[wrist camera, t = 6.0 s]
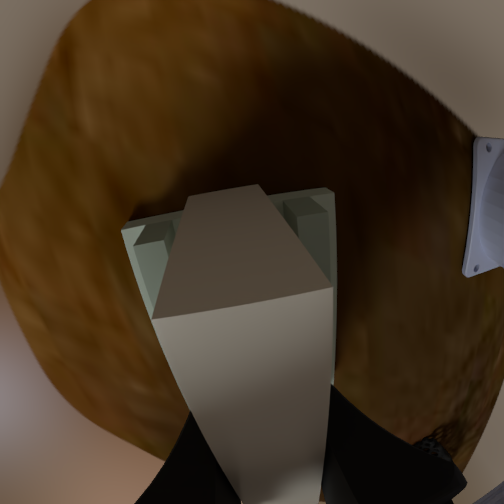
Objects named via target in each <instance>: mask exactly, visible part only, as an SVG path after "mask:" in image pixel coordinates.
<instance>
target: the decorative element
mask: <svg viewBox="0 0 504 504" xmlns="http://www.w3.org/2000/svg"><path fill="white" fill-rule="evenodd" d="M419 446H421V447H420V448H419V449H421V450H424V449H425V448H429V449H428V450H427V451H425V452H427V453H429V454H431V452H432V451H433V452H437V453H438V454H432V455H434V456H437V457H439V458H440V457H442V458H443V459H445V460H448V461H451V462H453V460H452V458H451V456H450V455H449V453H448V452H447V451H446V450H445V449H444V447H443V446H442V445H441V444H440V443H438V442H437V441H436V440H435V439H434V438H431V439H429V438H426V437H425V438H423V440H422V442H417V443H416V444H415V446H414V447H416V448H418V447H419Z"/></svg>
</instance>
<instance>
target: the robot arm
mask: <svg viewBox="0 0 504 504" xmlns="http://www.w3.org/2000/svg"><path fill="white" fill-rule="evenodd" d="M486 145H487V148H486ZM499 266H502V267H503V268H504V139H500V138H489V137H477V138H476V139H475V141H474V145H473V185H472V200H471V211H470V221H469V229H468V237H467V244H466V250H465V257H464V262H463V268H462V273H463V274H464V275H465V276H466V277H471V276H474V275H477V274H480V273H482V272H485V271H488V270H491V269H493V268H496V267H499ZM466 485H467V481H466V479H465V477H464V476H463V474H462V473H461V471H460V470H459V469H458V467H457V466H456V465H455V464H454V463H453V462H451V461H448V460H445V459H442V458H439V457H437V456H434V455H432V454H429V453H427V452H425V451H423V450H421V449H419V448H416V447H414V446H412V445H411V444H409V443H407V442H405V441H403V440H402V439H400V438H398V437H396V436H395V435H393V434H391V433H390V432H388V431H387V430H385V429H384V428H382V427H381V426H379V425H378V424H376V423H375V422H374V421H372V420H371V419H370V418H368V417H367V416H366V415H364V414H363V413H362V412H361V411H360V410H358V409H357V408H356V407H355V406H354V405H353V404H352V403H350V402H349V401H348V400H347V399H346V398H345V397H344V396H343V395H342V394H341V393H340V392H339V391H338V390H337V389H336V388H335V387H334V386H333V385H332V384H331V387H330V403H329V416H328V427H327V438H326V448H325V457H324V465H323V473H322V481H321V486H322V489H323V493H324V497H325V501H326V504H454V503H453V501H452V498H453V497H455V496H456V495H457V494H459V493H460V492H461V491H462V490H463V489H464V488H465V487H466ZM134 504H241V500H240V498H239V496H238V495H237V493H236V492H235V490H234V488H233V487H232V485H231V484H230V482H229V480H228V479H227V477H226V475H225V473H224V472H223V470H222V468H221V467H220V465H219V463H218V461H217V460H216V458H215V456H214V454H213V452H212V451H211V449H210V447H209V445H208V443H207V441H206V440H205V438H204V436H203V434H202V432H201V430H200V428H199V426H198V424H197V422H196V420H195V418H194V416H193V414H192V412H191V410H190V413H189V415H188V418H187V420H186V423H185V425H184V427H183V429H182V431H181V433H180V436H179V438H178V440H177V442H176V444H175V446H174V448H173V449H172V451H171V453H170V455H169V456H168V458H167V460H166V462H165V463H164V465H163V467H162V468H161V469H160V471H159V472H158V474H157V475H156V477H155V478H154V480H153V481H152V483H151V484H150V485H149V486H148V488H147V489H146V490H145V491H144V493H143V494H142V495H141V496H140V498H139V499H138V500H137V501H136V503H134ZM473 504H504V481H503V482H502V483H501V484H499V485H498V486H497V487H495V488H494V489H493V490H491V491H490V492H489V493H487V494H486V495H485V496H483V497H482V498H480V499H479V500H477V501H476V502H474V503H473Z"/></svg>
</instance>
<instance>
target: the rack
mask: <svg viewBox="0 0 504 504" xmlns="http://www.w3.org/2000/svg"><path fill="white" fill-rule="evenodd" d="M267 197H268V198H269V199H270V201H271V202H272V203H273V204H274V206H275V207H276V208H277V210H278V211H279V213H280V214H281V215H282V217H283V218H284V219H285V221H286V222H287V223H288V225H289V226H290V227H291V229H292V230H293V231H294V233H295V234H296V236H297V237H298V238H299V240H300V241H301V242H302V244H303V245H304V247H305V248H306V249H307V251H308V252H309V254H310V255H311V256H312V258H313V259H314V261H315V262H316V263H317V265H318V266H319V268H320V269H321V270H322V272H323V273H324V275H325V276H326V278H327V279H328V280H329V282H330V283H331V285H332V286H333V343H332V369H331V384H332V385H333V382H334V367H335V348H336V319H337V243H336V215H335V195H334V192H332V191H331V190H329V189H327V188H326V187H323V188H316V189H309V190H301V191H294V192H288V193H281V194H274V195H268V196H267ZM183 211H184V210H182V211H177V212H172V213H167V214H162V215H157V216H152V217H147V218H143V219H138V220H133V221H129V222H127V223H126V224H125V226H124V227H123V228H122V230H121V232H122V235H123V239H124V242H125V246H126V249H127V252H128V255H129V259H130V262H131V265H132V268H133V271H134V274H135V277H136V280H137V283H138V286H139V289H140V292H141V295H142V297H143V300H144V303H145V306H146V308H147V311H148V314H149V316H150V319H152V315H153V311H154V308H155V304H156V300H157V297H158V293H159V289H160V286H161V282H162V279H163V275H164V272H165V268H166V265H167V262H168V258H169V255H170V252H171V248H172V245H173V242H174V239H175V235H176V232H177V229H178V226H179V223H180V220H181V217H182V214H183ZM151 322H152V320H151ZM152 324H153V323H152ZM153 327H154V325H153ZM154 329H155V328H154ZM155 332H156V330H155ZM156 335H157V333H156ZM157 337H158V335H157ZM158 339H159V338H158ZM159 342H160V340H159ZM160 344H161V343H160ZM161 347H162V345H161ZM162 349H163V348H162ZM163 352H164V350H163ZM164 354H165V353H164ZM165 356H166V355H165ZM166 359H167V357H166ZM167 361H168V360H167ZM168 363H169V362H168ZM169 366H170V364H169ZM170 368H171V367H170ZM171 370H172V369H171ZM172 373H173V371H172ZM173 375H174V374H173ZM174 377H175V376H174ZM175 379H176V378H175ZM176 381H177V380H176ZM177 384H178V383H177ZM178 386H179V385H178ZM179 388H180V387H179ZM180 390H181V389H180ZM181 392H182V391H181ZM182 394H183V393H182ZM183 397H184V396H183ZM184 399H185V398H184ZM185 401H186V400H185ZM186 403H187V402H186ZM187 405H188V404H187ZM188 407H189V406H188ZM189 409H190V408H189Z"/></svg>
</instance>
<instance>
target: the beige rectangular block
mask: <svg viewBox="0 0 504 504" xmlns="http://www.w3.org/2000/svg"><path fill="white" fill-rule="evenodd" d="M151 320H152V323H153V325H154V328H155V330H156V333H157V335H158V338H159V340H160V343H161V345H162V348H163V350H164V353H165V355H166V357H167V360H168V362H169V364H170V367H171V369H172V371H173V374H174V376H175V378H176V380H177V383H178V385H179V387H180V389H181V391H182V393H183V396H184V398H185V400H186V402H187V404H188V406H189V408H190V410H191V412H192V414H193V416H194V418H195V420H196V422H197V424H198V426H199V428H200V430H201V432H202V434H203V436H204V438H205V440H206V441H207V443H208V445H209V447H210V449H211V451H212V452H213V454H214V456H215V458H216V460H217V461H218V463H219V465H220V467H221V468H222V470H223V472H224V473H225V475H226V477H227V479H228V480H229V482H230V484H231V485H232V487H233V488H234V490H235V492H236V493H237V495H238V496H239V498H240V500H241V501H242V503H243V504H318V502H319V495H320V488H321V481H322V473H323V465H324V457H325V448H326V438H327V427H328V416H329V403H330V387H331V369H332V343H333V286H332V285H331V283H330V282H329V280H328V279H327V278H326V276H325V275H324V273H323V272H322V270H321V269H320V268H319V266H318V265H317V263H316V262H315V261H314V259H313V258H312V256H311V255H310V254H309V252H308V251H307V249H306V248H305V247H304V245H303V244H302V242H301V241H300V240H299V238H298V237H297V236H296V234H295V233H294V231H293V230H292V229H291V227H290V226H289V225H288V223H287V222H286V221H285V219H284V218H283V217H282V215H281V214H280V213H279V211H278V210H277V208H276V207H275V206H274V204H273V203H272V202H271V201H270V199H269V198H268V197H267V195H266V194H265V193H264V191H263V190H262V189H261V187H260V186H259V185H258V184H256V185H249V186H243V187H237V188H231V189H226V190H220V191H214V192H209V193H203V194H198V195H193V196H188V199H187V202H186V205H185V208H184V211H183V214H182V217H181V220H180V223H179V226H178V229H177V232H176V235H175V239H174V242H173V245H172V248H171V252H170V255H169V258H168V262H167V265H166V268H165V272H164V275H163V279H162V282H161V286H160V289H159V293H158V297H157V300H156V304H155V308H154V311H153V315H152V319H151Z"/></svg>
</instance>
